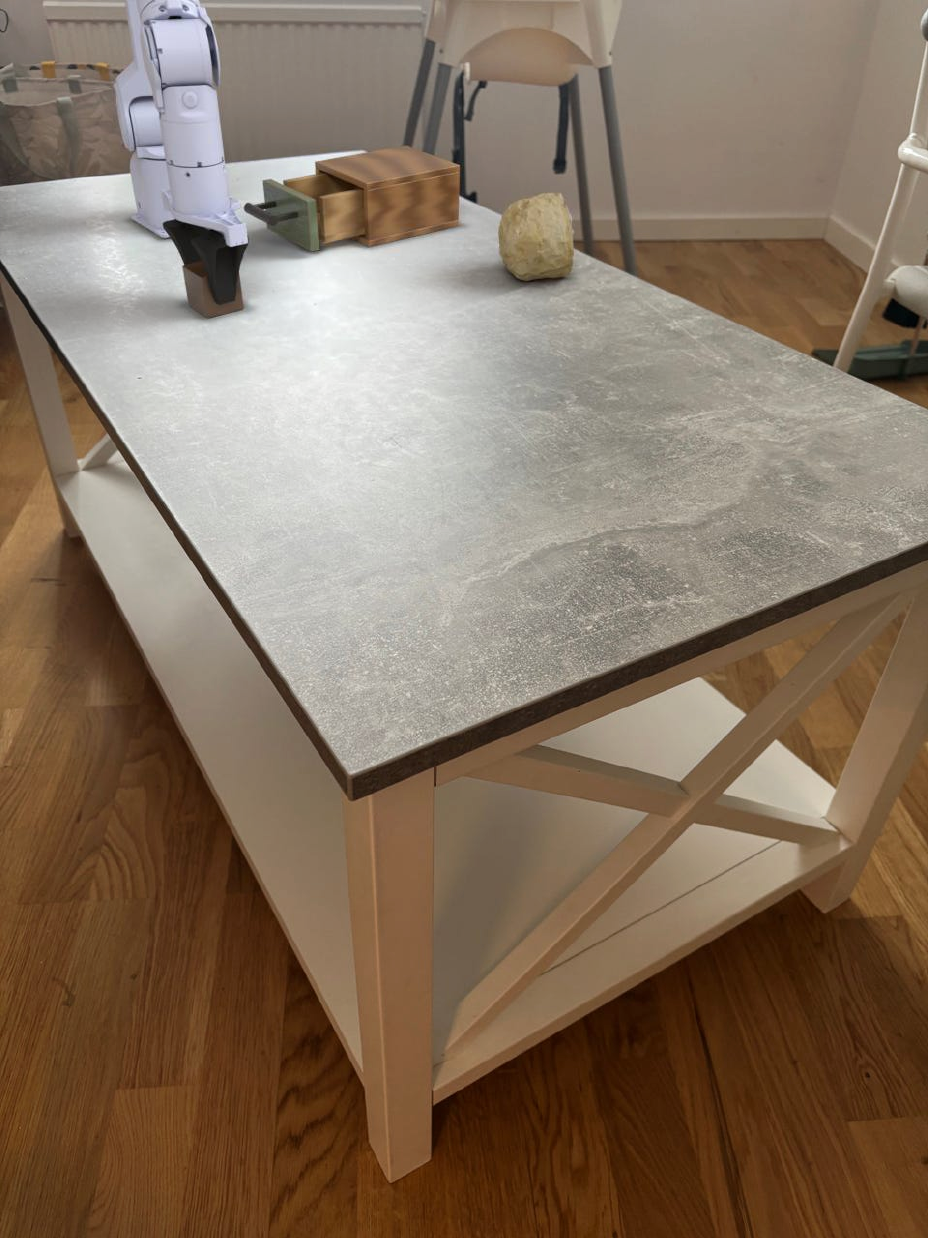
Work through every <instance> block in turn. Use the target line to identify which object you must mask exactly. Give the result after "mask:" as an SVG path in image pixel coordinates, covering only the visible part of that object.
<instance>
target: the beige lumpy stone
mask: <svg viewBox="0 0 928 1238" xmlns="http://www.w3.org/2000/svg"><path fill="white" fill-rule="evenodd" d="M572 224H573V218H572V215H571V212H570V210H569V207H568V205H567V203H565V198H564V197H563V195H562V193H561V192H544V193H540V194H538V195H536V196H535V195H533V196H530V197H528V198H523V199H519V200H515V201H514V202H513V203H511V204H510V205H508V206H507V208H506V209H505V210H504V211H503V214H502V215H501V218H500V221H499V226H498V231H497V235H498V236H497V237H498V254H499V255H500V256H501V261H502V263H503V265H504V266H505V267H506V269H507V270H508V272H510V273H511V274H512V275H513V276H514V277H515V278H517V279H519V280H521V281H524V282H529V281H532V280H533V281H534V280H538V279H548V278H550V279H557V278H568V277H569V275H570V273H571V272H572V270H573V266H574V255H575V249H574V247H575V246H574V233H575V229H573V225H572Z"/></svg>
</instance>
